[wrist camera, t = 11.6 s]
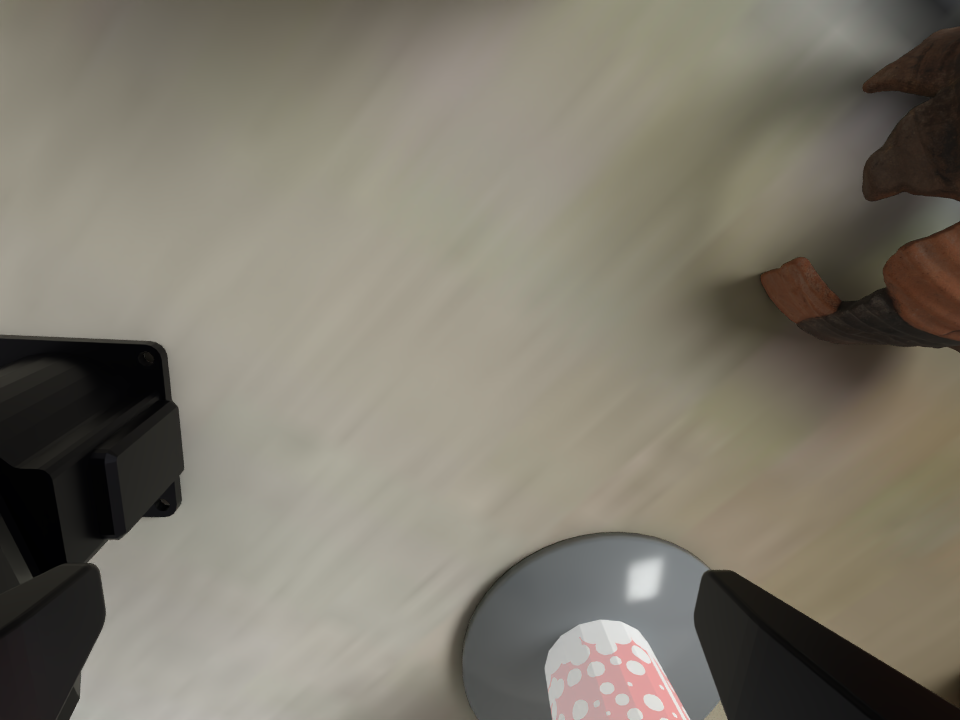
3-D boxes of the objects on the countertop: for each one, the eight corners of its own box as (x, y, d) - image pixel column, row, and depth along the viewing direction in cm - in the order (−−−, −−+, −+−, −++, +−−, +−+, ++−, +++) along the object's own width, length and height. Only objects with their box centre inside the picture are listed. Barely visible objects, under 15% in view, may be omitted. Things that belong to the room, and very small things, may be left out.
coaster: (454, 757, 25) (455, 770, 25) (470, 530, 22) (471, 539, 21) (706, 752, 27) (712, 764, 26) (759, 533, 23) (767, 543, 22)
